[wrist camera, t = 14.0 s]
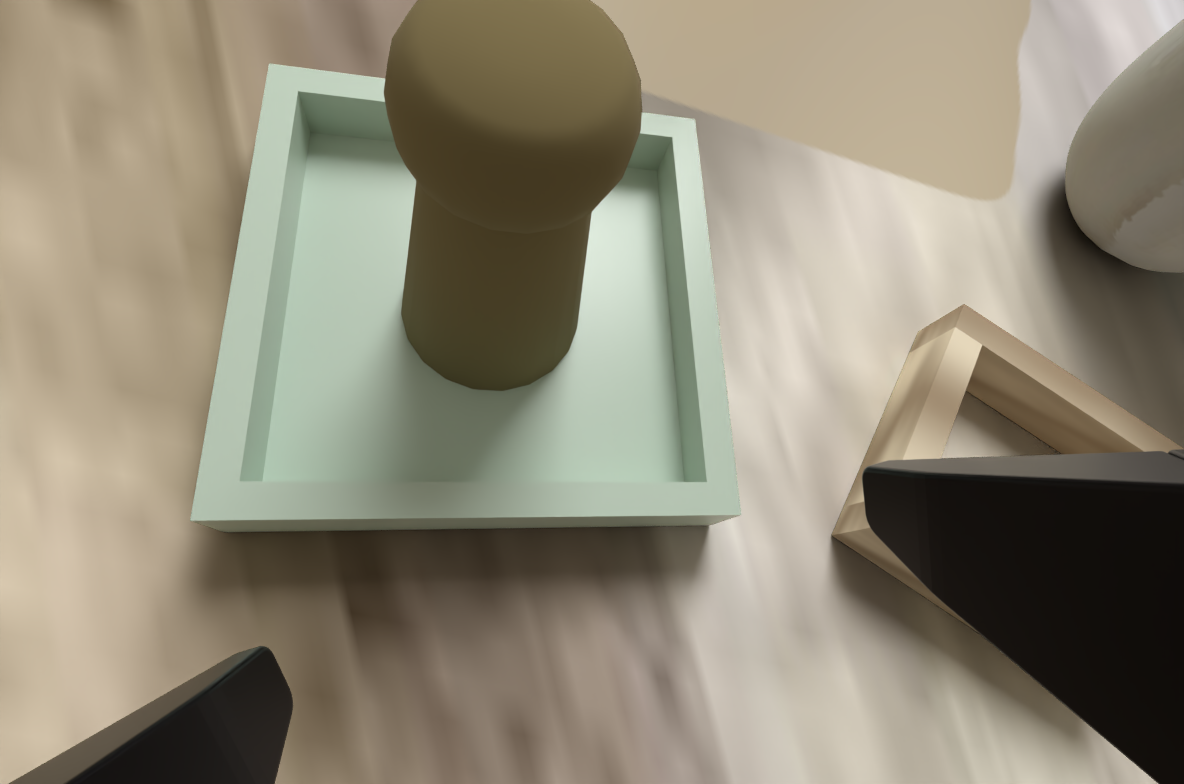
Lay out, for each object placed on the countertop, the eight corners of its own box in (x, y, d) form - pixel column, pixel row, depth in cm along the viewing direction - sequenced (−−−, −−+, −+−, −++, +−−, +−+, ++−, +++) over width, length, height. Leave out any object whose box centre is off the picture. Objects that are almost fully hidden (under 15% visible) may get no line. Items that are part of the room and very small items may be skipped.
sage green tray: (709, 525, 21) (741, 514, 19) (224, 532, 18) (190, 520, 16) (673, 162, 26) (694, 119, 24) (287, 118, 23) (269, 63, 20)
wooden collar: (1067, 692, 22) (1140, 702, 19) (831, 535, 22) (876, 526, 19) (1118, 464, 25) (1185, 449, 23) (918, 331, 26) (964, 303, 23)
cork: (590, 383, 21) (716, 173, 11) (407, 399, 20) (356, 172, 9) (564, 231, 23) (651, -71, 13) (395, 235, 21) (341, -103, 11)
